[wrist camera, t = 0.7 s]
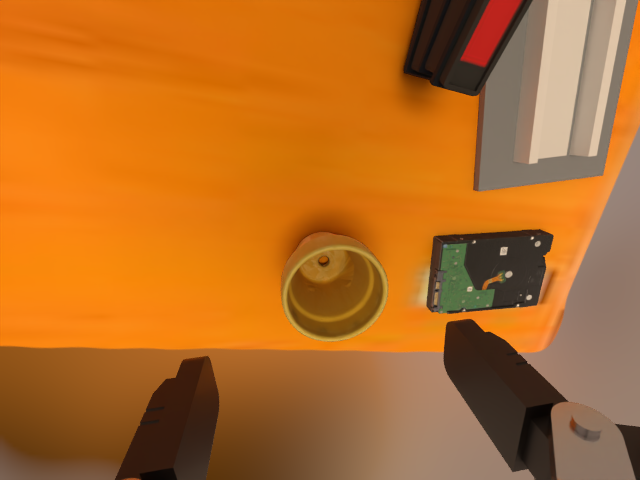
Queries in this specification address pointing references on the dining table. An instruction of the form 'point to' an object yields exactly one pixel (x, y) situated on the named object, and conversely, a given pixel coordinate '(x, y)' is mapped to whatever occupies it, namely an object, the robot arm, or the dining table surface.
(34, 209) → the dining table surface
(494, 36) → the magazine
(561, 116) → the rail board
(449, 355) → the robot arm
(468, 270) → the disk drive
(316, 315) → the plant pot
